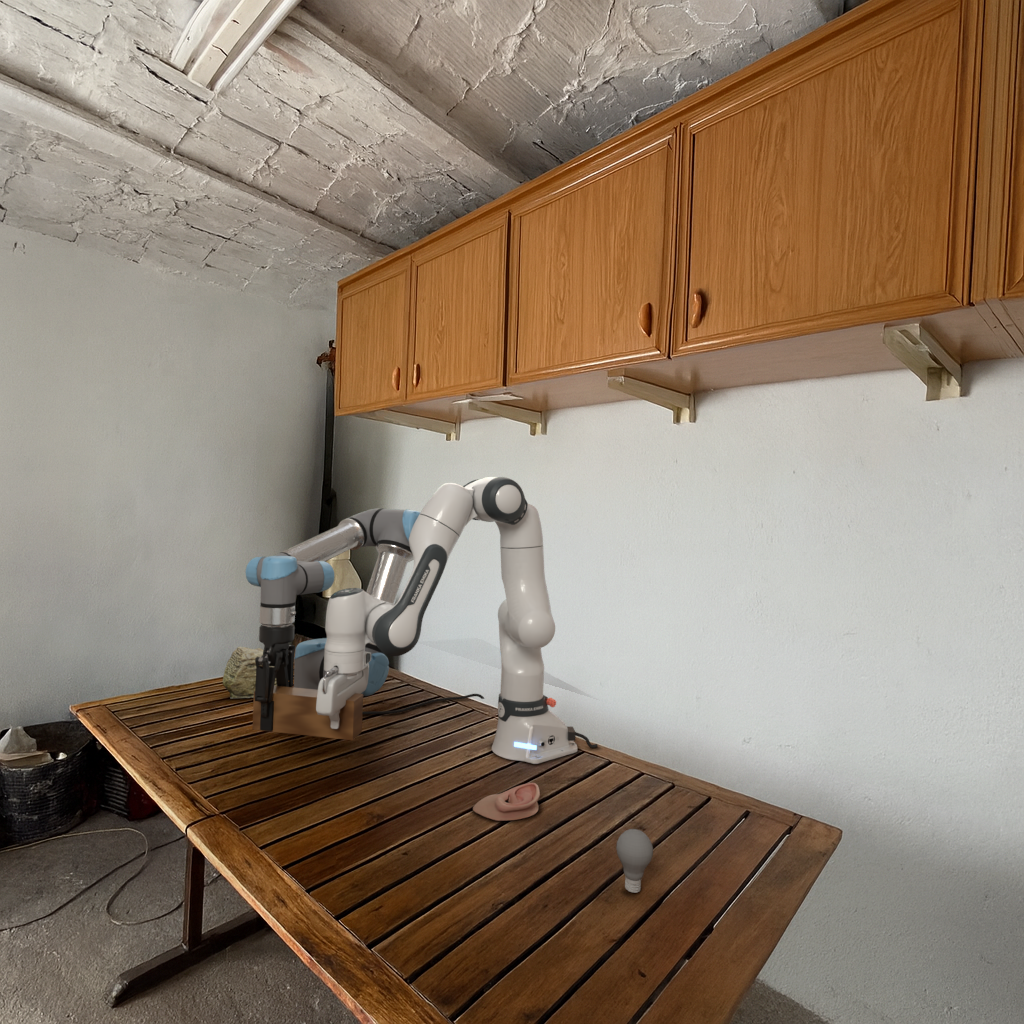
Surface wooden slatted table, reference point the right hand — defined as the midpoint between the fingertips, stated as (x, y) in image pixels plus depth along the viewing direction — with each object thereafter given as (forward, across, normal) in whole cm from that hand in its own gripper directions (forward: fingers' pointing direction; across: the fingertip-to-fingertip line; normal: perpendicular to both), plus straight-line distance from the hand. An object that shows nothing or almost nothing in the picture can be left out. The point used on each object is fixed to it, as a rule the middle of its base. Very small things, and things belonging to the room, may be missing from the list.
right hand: (342, 722), depth 142 cm
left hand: (+2, 0, +16) cm, 17 cm away
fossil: (+13, +49, +50) cm, 71 cm away
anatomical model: (+13, -5, -39) cm, 41 cm away
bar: (+3, 0, +8) cm, 9 cm away
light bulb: (+13, -28, -64) cm, 71 cm away
